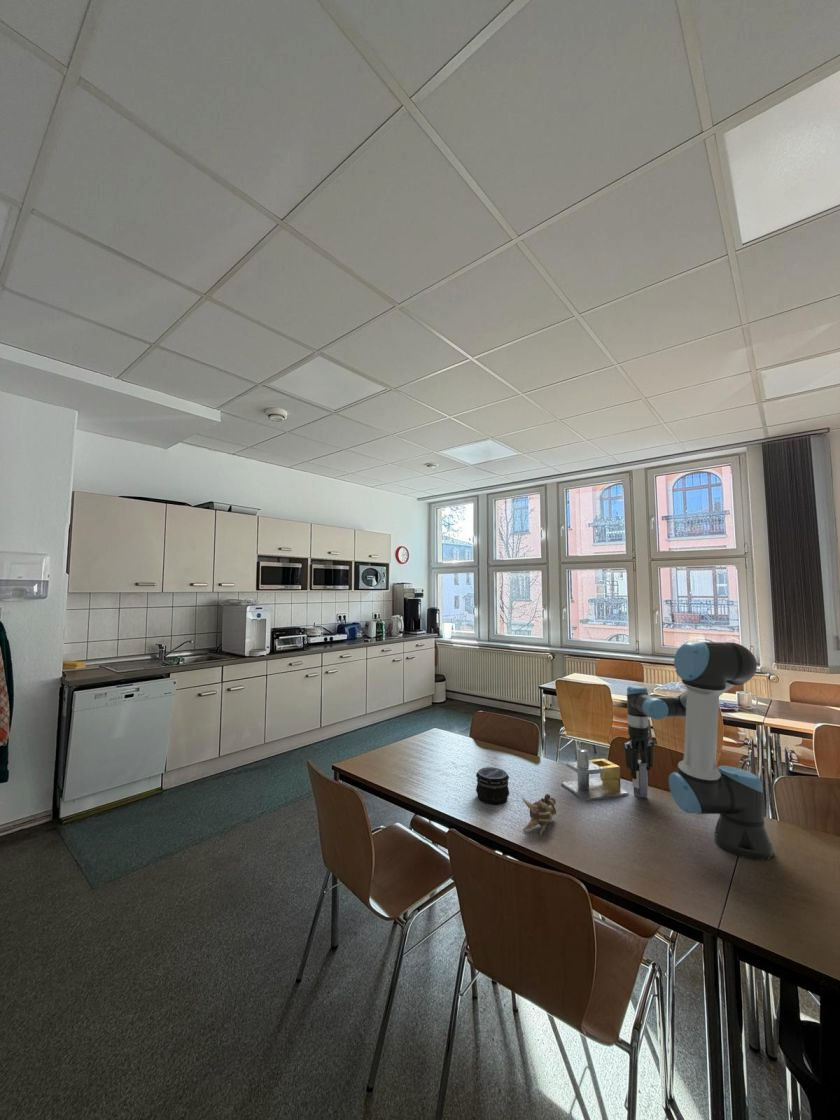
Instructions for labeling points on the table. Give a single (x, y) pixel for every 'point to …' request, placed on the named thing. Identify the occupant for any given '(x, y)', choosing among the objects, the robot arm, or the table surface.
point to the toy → (541, 812)
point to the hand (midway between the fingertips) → (640, 786)
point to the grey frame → (594, 787)
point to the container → (492, 786)
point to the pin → (641, 780)
